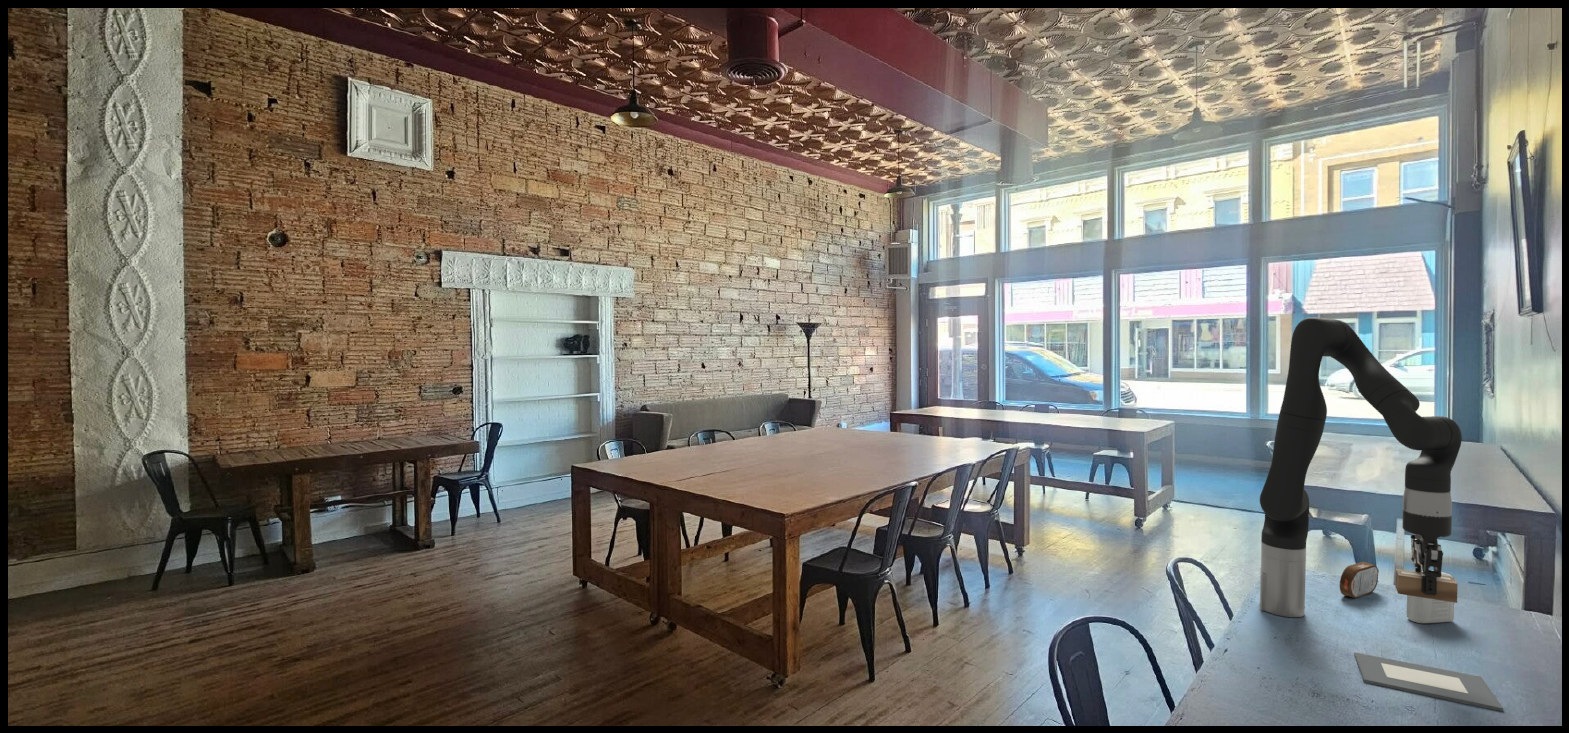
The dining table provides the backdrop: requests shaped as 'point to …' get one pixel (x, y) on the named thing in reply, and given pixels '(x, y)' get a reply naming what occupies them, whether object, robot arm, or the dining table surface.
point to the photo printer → (1429, 609)
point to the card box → (1412, 585)
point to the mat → (1427, 681)
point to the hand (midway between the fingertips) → (1425, 589)
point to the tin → (1359, 579)
